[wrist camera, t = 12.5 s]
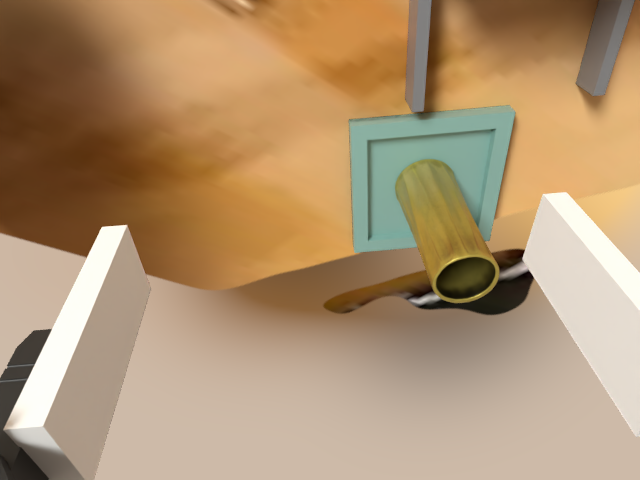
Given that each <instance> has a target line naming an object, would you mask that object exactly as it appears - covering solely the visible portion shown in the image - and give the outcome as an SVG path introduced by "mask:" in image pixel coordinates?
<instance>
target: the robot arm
mask: <svg viewBox="0 0 640 480" xmlns="http://www.w3.org/2000/svg"><path fill="white" fill-rule="evenodd" d="M523 261H524V262H525V264H526V265H527V267H528V269H529V270H530V272H531V273H532V275H533V276H534V278H535V280H536V281H537V283H538V284H539V286H540V287H541V289H542V291H543V292H544V294H545V295H546V297H547V298H548V300H549V302H550V303H551V305H552V306H553V308H554V309H555V311H556V312H557V314H558V316H559V317H560V319H561V320H562V322H563V324H564V325H565V327H566V328H567V330H568V331H569V333H570V335H571V336H572V337H573V339H574V340H575V342H576V344H577V345H578V347H579V349H580V350H581V352H582V353H583V355H584V356H585V358H586V360H587V361H588V363H589V364H590V366H591V367H592V369H593V371H594V372H595V374H596V375H597V377H598V378H599V380H600V382H601V383H602V385H603V386H604V388H605V389H606V391H607V393H608V394H609V396H610V397H611V399H612V400H613V402H614V404H615V405H616V407H617V408H618V410H619V411H620V413H621V414H622V416H623V418H624V419H625V421H626V422H627V424H628V425H629V427H630V428H631V430H632V432H633V433H634V435H635V436H636V437H638V436H640V273H639V272H638V271H637V270H636V269H635V267H634V266H633V265H632V264H631V263H630V262H629V261H628V260H627V259H626V258H625V256H624V255H623V254H622V253H621V252H620V251H619V250H618V249H617V248H616V247H615V245H614V244H613V243H612V242H611V241H610V240H609V239H608V238H607V237H606V236H605V234H604V233H603V232H602V231H601V230H600V229H599V228H598V227H597V226H596V225H595V223H594V222H593V221H592V220H591V219H590V218H589V217H588V216H587V215H586V213H584V211H583V210H582V209H581V208H580V207H579V206H578V205H577V204H576V203H575V201H574V200H573V199H572V198H571V197H570V196H569V195H568V194H567V192H564V193H550V194H543V195H542V199H541V202H540V205H539V208H538V211H537V215H536V218H535V221H534V224H533V227H532V230H531V233H530V237H529V240H528V243H527V246H526V249H525V252H524V256H523ZM150 290H151V287H150V285H149V282H148V279H147V277H146V274H145V271H144V269H143V266H142V263H141V261H140V258H139V255H138V253H137V250H136V247H135V245H134V242H133V239H132V237H131V234H130V231H129V229H128V226H127V225H120V226H107V227H102V228H101V230H100V232H99V234H98V236H97V238H96V240H95V242H94V244H93V246H92V249H91V251H90V253H89V255H88V257H87V259H86V261H85V263H84V265H83V267H82V269H81V271H80V273H79V276H78V277H77V280H76V281H75V283H74V286H73V288H72V290H71V292H70V294H69V296H68V298H67V300H66V302H65V304H64V306H63V308H62V311H61V312H60V314H59V317H58V318H57V321H56V322H55V325H54V327H53V329H48V330H36V331H33V332H32V333H31V334H30V335H29V336H28V337H27V338H26V339H25V340H24V341H23V342H22V343H21V344H20V345H19V346H18V347H17V348H16V350H15V352H14V354H13V356H12V358H11V359H10V362H9V363H8V365H7V366H8V368H7V369H5V371H4V373H3V374H2V376H1V378H0V480H94V478H95V475H96V471H97V468H98V465H99V461H100V458H101V454H102V451H103V447H104V445H105V441H106V438H107V434H108V431H109V428H110V424H111V421H112V417H113V414H114V411H115V407H116V404H117V401H118V397H119V394H120V391H121V387H122V384H123V381H124V377H125V374H126V371H127V367H128V364H129V361H130V357H131V354H132V351H133V347H134V344H135V340H136V337H137V334H138V330H139V327H140V324H141V320H142V317H143V314H144V310H145V307H146V304H147V300H148V297H149V293H150Z"/></svg>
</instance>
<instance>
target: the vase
mask: <svg viewBox="0 0 640 480" xmlns="http://www.w3.org/2000/svg"><path fill="white" fill-rule="evenodd" d="M395 193H396V198H397V200H398V201H399V203H400V206H401V208H402V211H403V213H404V215H405V218H406V220H407V223H408V225H409V227H410V230H411V232H412V235H413V237H414V239H415V242H416V244H417V247H418V249H419V252H420V255H421V257H422V260H423V263H424V266H425V269H426V272H427V274H428V277H429V280H430V283H431V286H432V288H433V290H434V292H435V293H436V294H437V295H438V296H439V297H440V298H441V299H443V300H445V301H449V302H454V303H464V302H470V301H473V300H476V299H478V298H481V297H483V296H484V295H486V294H487V293H488V292H490V291H491V290H492V289H493V287H494V286H495V285H496V283H497V281H498V278H499V267H498V264H497V262H496V261H495V259H494V258H493V256H492V254H491V252H490V251H489V249H488V247H487V245H486V243H485V241H484V239H483V237H482V235H481V233H480V231H479V229H478V227H477V225H476V223H475V221H474V219H473V217H472V215H471V213H470V211H469V209H468V207H467V205H466V202H465V200H464V197H463V195H462V192H461V190H460V188H459V186H458V184H457V182H456V180H455V176H454V173H453V171H452V169H451V168H450V167H449V166H448V165H447V164H446V163H444V162H442V161H439V160H435V159H424V160H420V161H417V162H415V163H412V164H411V165H409V166H408V167H406V168H405V169H404V170H403V171H402V172H401V174H400V175H399V177H398V178H397V181H396V184H395Z"/></svg>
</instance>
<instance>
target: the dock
mask: <svg viewBox="0 0 640 480" xmlns="http://www.w3.org/2000/svg"><path fill="white" fill-rule="evenodd" d="M431 1H432V0H410V2H409V24H408V46H407V69H406V91H405V100H406V102H407V104H408V105H409V107H410V109H411V111H412V112H420V111H424V99H425V85H426V71H427V57H428V43H429V29H430V15H431ZM634 1H635V0H599V1H598V5H597V9H596V12H595V16H594V20H593V23H592V27H591V30H590V34H589V38H588V41H587V45H586V49H585V52H584V56H583V60H582V63H581V67H580V70H579V74H578V78H577V81H576V84H577V85H578V86H580V87H581V88H583V89H584V90H585V91H587V92H588V93H589V94H591V95H592V96H598V95H605V92H606V89H607V86H608V82H609V79H610V76H611V73H612V70H613V67H614V64H615V60H616V57H617V54H618V51H619V48H620V45H621V42H622V39H623V35H624V32H625V29H626V26H627V23H628V20H629V17H630V14H631V10H632V7H633V4H634Z"/></svg>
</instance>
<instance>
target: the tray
mask: <svg viewBox="0 0 640 480" xmlns="http://www.w3.org/2000/svg"><path fill="white" fill-rule="evenodd" d="M514 117H515V111H514V110H513V109H512V108H511V106H510V105H506V106H495V107H484V108H473V109H462V110H451V111H440V112H429V113H417V114H406V115H395V116H384V117H373V118H362V119H351V120H349V139H350V168H351V198H352V227H353V247H354V252H355V253H359V252H370V251H381V250H392V249H404V248H415V247H417V244H416V242H415V239H414V237H413V235H412V232H411V230H410V227H409V225H408V223H407V220H406V218H405V215H404V213H403V211H402V208H401V206H400V203H399V201H398V200H397V198H396V193H395V184H396V181H397V178H398V177H399V175H400V174H401V172H402V171H403V170H404V169H405V168H406V167H408V166H409V165H411V164H412V163H415V162H417V161H420V160H424V159H435V160H439V161H442V162H444V163H446V164H447V165H448V166H449V167H450V168H451V169H452V171H453V173H454V176H455V180H456V182H457V184H458V186H459V188H460V190H461V192H462V195H463V197H464V200H465V202H466V205H467V207H468V209H469V211H470V213H471V215H472V217H473V219H474V221H475V223H476V225H477V227H478V229H479V231H480V233H481V235H482V237H483V239H484V241H489V240H490V236H491V231H492V226H493V221H494V216H495V211H496V206H497V201H498V196H499V191H500V186H501V181H502V176H503V171H504V166H505V162H506V157H507V152H508V147H509V142H510V137H511V132H512V127H513V122H514Z"/></svg>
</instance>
